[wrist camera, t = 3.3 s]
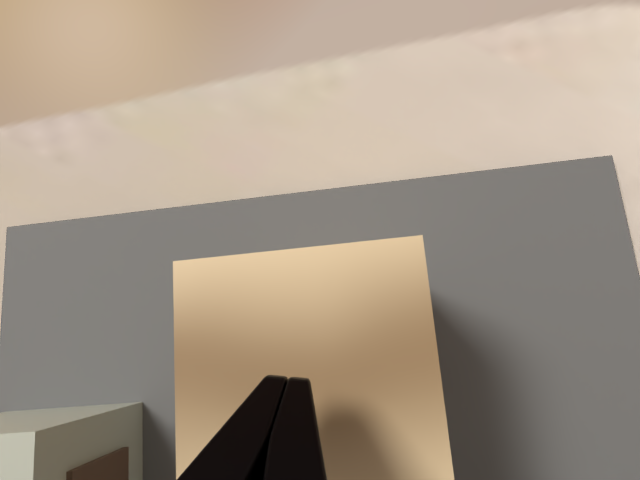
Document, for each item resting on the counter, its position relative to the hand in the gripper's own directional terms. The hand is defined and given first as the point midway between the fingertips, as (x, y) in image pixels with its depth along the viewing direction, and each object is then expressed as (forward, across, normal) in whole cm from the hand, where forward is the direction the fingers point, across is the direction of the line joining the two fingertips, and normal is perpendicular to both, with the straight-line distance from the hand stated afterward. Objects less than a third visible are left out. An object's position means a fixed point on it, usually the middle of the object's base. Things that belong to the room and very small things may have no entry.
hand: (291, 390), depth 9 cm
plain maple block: (+7, 0, +7) cm, 10 cm away
